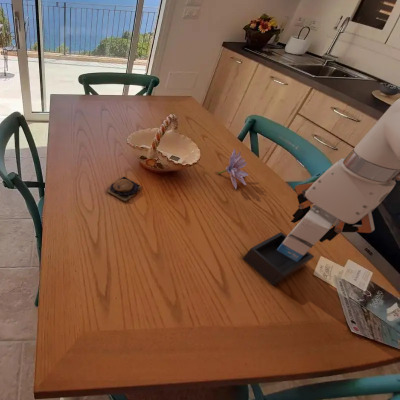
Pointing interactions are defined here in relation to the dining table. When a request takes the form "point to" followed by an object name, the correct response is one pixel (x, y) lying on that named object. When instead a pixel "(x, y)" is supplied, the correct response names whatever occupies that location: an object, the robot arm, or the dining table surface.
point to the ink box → (307, 233)
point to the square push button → (124, 189)
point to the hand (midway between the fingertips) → (309, 229)
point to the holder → (274, 260)
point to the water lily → (236, 168)
